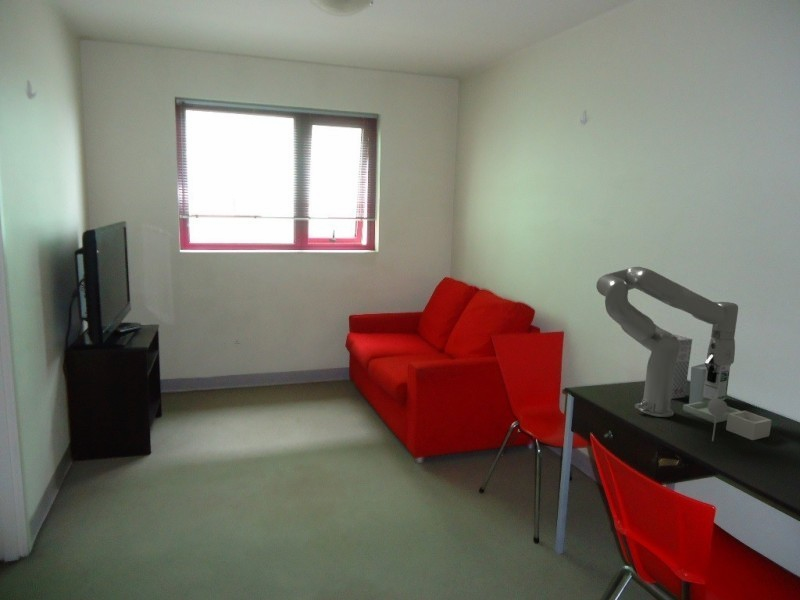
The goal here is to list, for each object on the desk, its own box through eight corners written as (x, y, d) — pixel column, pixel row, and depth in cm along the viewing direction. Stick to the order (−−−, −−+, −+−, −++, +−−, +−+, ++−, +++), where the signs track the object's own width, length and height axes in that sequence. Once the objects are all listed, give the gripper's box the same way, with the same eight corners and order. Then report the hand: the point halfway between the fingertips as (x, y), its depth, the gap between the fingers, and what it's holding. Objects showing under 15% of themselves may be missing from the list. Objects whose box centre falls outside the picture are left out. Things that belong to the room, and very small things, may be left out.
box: (670, 399, 228) (677, 340, 224) (653, 392, 235) (660, 335, 231) (684, 396, 231) (692, 339, 227) (667, 390, 239) (674, 334, 235)
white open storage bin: (752, 440, 189) (755, 423, 188) (725, 429, 197) (728, 413, 196) (769, 436, 193) (771, 419, 192) (742, 426, 201) (744, 410, 200)
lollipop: (722, 446, 183) (728, 403, 180) (702, 441, 186) (708, 399, 183) (722, 440, 188) (729, 398, 185) (703, 435, 191) (709, 394, 188)
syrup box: (717, 401, 207) (722, 364, 205) (702, 396, 212) (707, 360, 210) (726, 399, 210) (731, 363, 207) (711, 394, 215) (716, 358, 213)
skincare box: (702, 408, 218) (703, 368, 217) (688, 405, 222) (689, 366, 221) (725, 399, 231) (726, 362, 230) (711, 397, 235) (712, 360, 234)
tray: (713, 423, 203) (714, 416, 203) (682, 410, 214) (683, 404, 214) (741, 417, 210) (742, 411, 210) (709, 405, 221) (710, 399, 221)
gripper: (717, 339, 200) (711, 386, 203) (747, 335, 207) (740, 381, 210) (698, 334, 206) (692, 380, 209) (727, 331, 214) (721, 375, 217)
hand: (716, 380), depth 210 cm, fingers closed on syrup box, 5 cm apart
